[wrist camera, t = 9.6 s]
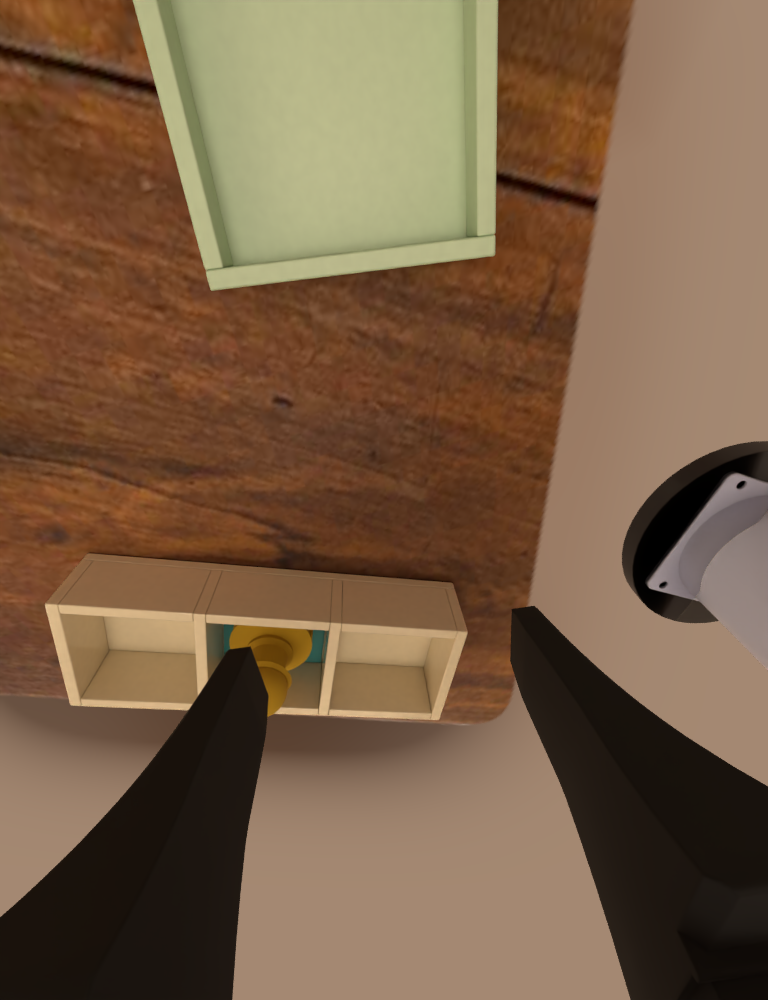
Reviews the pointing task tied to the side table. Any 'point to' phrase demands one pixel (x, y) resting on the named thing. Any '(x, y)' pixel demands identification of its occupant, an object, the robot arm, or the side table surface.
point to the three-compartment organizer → (254, 602)
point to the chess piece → (274, 656)
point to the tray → (329, 131)
